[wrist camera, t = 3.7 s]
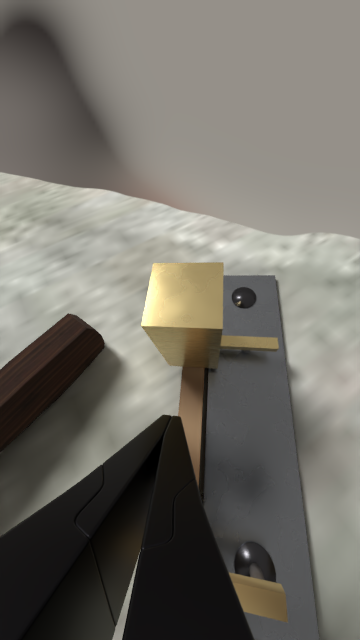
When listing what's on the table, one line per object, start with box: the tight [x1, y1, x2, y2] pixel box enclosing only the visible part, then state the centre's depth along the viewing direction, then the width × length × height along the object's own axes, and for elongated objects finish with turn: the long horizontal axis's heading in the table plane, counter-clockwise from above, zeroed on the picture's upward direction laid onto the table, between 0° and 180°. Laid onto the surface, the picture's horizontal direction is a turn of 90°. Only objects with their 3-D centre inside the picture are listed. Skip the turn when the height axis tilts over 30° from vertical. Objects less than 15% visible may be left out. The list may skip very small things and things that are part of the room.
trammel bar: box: [178, 366, 288, 623], centre depth 17 cm, size 27×8×4 cm, turn 174°
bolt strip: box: [203, 276, 319, 640], centre depth 18 cm, size 27×7×1 cm, turn 174°
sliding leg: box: [141, 263, 279, 369], centre depth 16 cm, size 4×9×10 cm, turn 84°
